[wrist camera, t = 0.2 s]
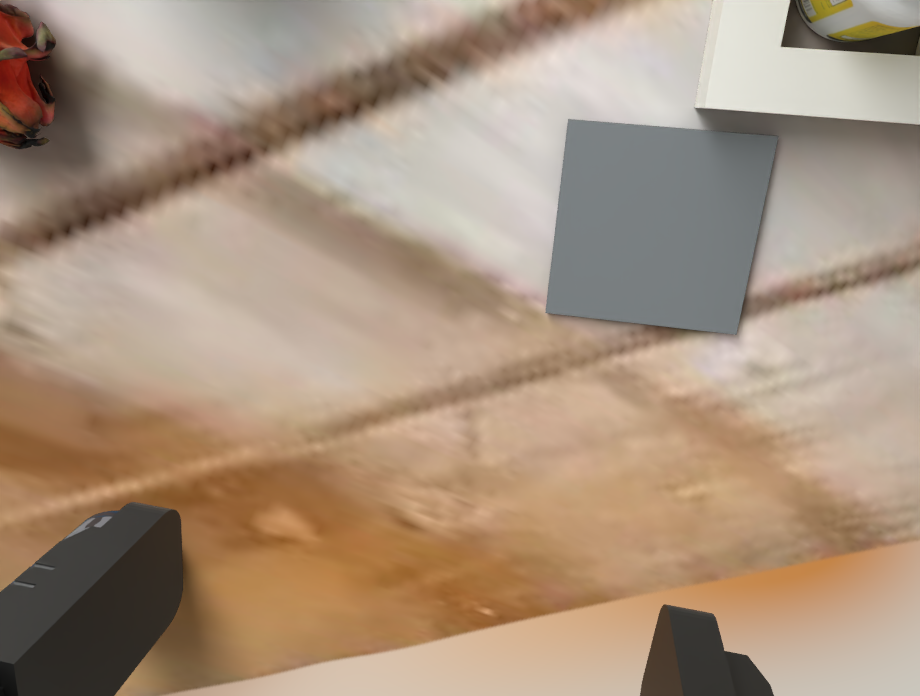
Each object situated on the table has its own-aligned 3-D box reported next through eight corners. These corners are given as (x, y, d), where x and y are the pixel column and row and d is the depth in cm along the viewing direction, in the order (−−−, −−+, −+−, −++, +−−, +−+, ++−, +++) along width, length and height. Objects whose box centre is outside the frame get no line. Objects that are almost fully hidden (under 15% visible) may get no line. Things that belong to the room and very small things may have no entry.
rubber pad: (568, 119, 36) (568, 119, 35) (775, 135, 35) (778, 136, 34) (545, 309, 39) (545, 312, 39) (734, 331, 38) (736, 334, 37)
